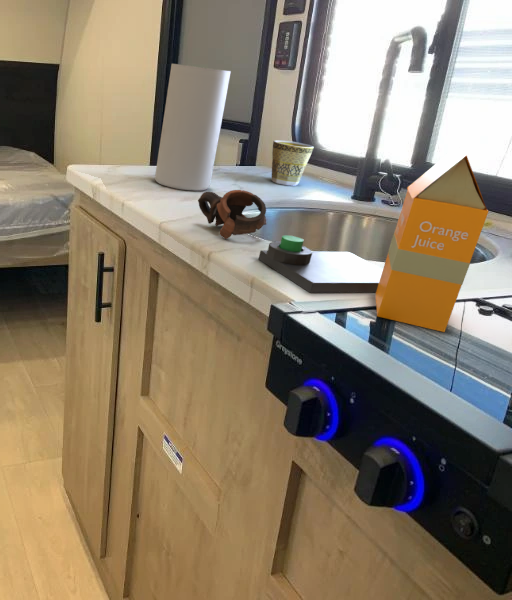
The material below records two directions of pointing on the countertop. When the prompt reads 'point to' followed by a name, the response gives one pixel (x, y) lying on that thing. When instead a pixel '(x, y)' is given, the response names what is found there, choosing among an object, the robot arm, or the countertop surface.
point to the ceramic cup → (289, 161)
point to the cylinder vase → (191, 127)
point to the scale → (323, 269)
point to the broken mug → (232, 212)
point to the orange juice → (432, 245)
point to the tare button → (291, 243)
